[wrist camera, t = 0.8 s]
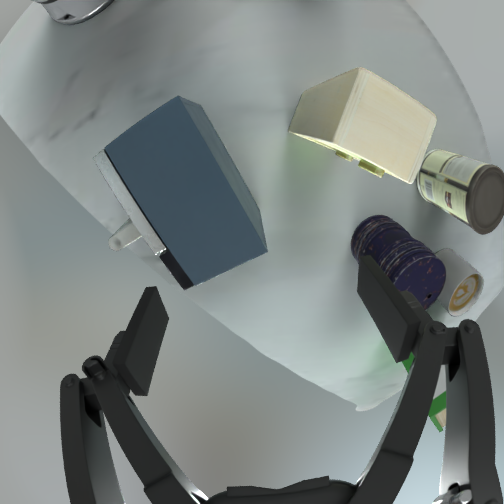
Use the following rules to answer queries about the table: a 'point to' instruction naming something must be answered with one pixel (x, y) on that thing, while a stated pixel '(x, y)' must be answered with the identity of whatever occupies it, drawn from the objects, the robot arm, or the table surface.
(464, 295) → the coffee mug
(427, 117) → the toy refrigerator
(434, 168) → the coffee can
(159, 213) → the microwave
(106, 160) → the microwave door
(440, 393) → the hardback book
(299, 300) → the table surface
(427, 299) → the storage jar
